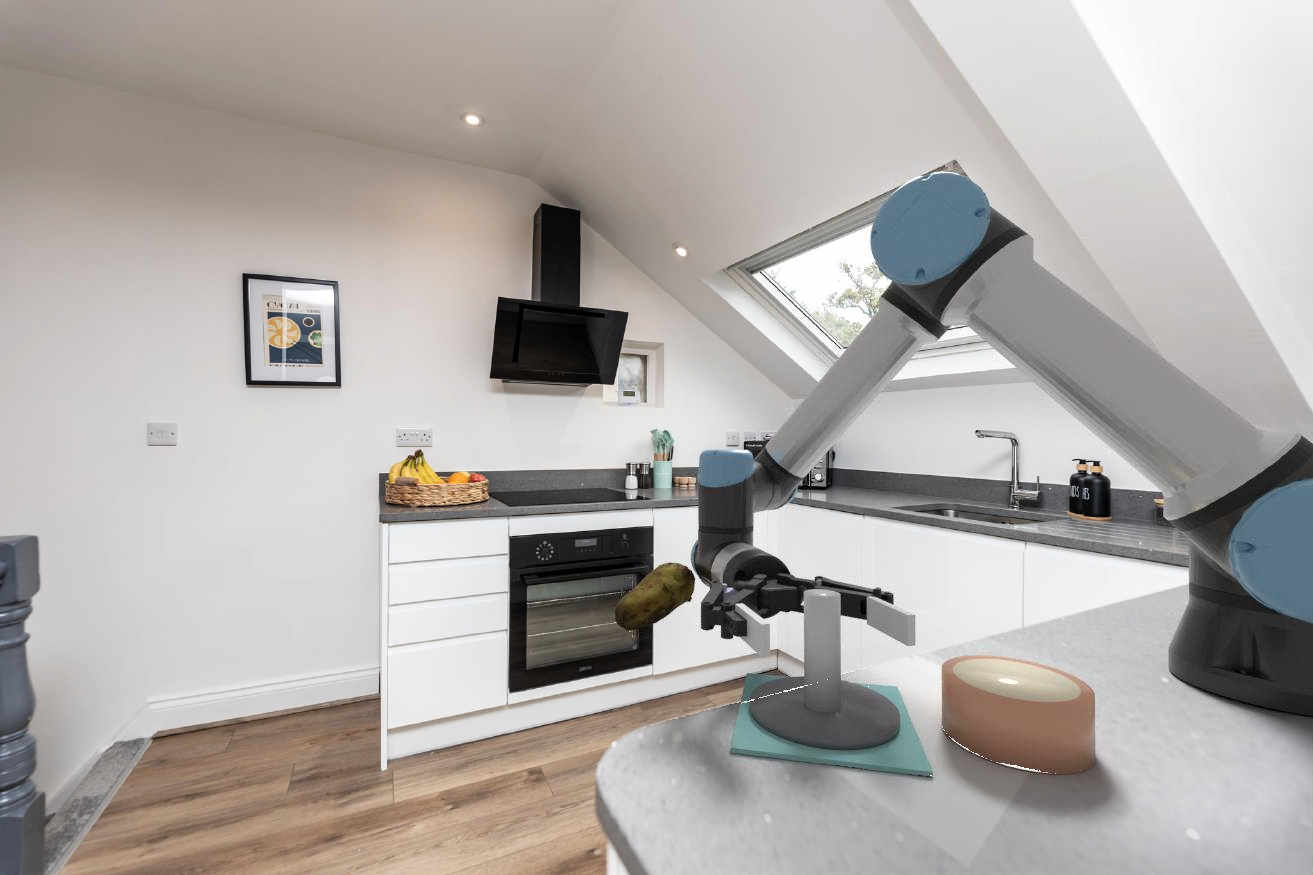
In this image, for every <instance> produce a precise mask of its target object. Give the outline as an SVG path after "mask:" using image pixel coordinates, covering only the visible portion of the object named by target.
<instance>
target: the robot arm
mask: <svg viewBox="0 0 1313 875" xmlns="http://www.w3.org/2000/svg"><path fill="white" fill-rule="evenodd" d="M869 240H870V241H869V242H870V244H869V245H870V250H871V254H872V258H873V259H874V262H875V264H876V267H877V268H878V270H879V272H880V273H881V274H882V275H883V276H885V277H886V278H887V279H888V280H890V281H891V282H890V283H889V285H888V287H887V288H886V289H885V290H884V292H882V294H881V295H880V297H878V305H879V306H878V311H877V312H876V313H875V314H874V315H873V317H872V318H871V319H870V320H869V321H868V323H866V325H865V326H864V327H863V329H862V330H861V331H860V332H859V333H858V335H856V337H855V338H854V339H853V341H852V342H851V343H850V344H849V345H848V346H847V347H846V349H845V350H844V351H843V352H842V354H840V356H839V357H838V359H837V360H836V361H835V362H834V363H833V364H832V365H831V367H830V368H829V369H828V370H827V372H826V373H825V374H824V375H823V376H822V378H821V379H820V380H819V381H818V382H817V383H816V385H815V386H814V387H813V389H812V390H810V392H809V393H808V395H807V396H806V397H805V398H804V399H803V400H802V401H801V403H799V405H798V406H797V407H796V408H795V410H794V411H793V412H792V414H790V416H789V417H788V418H787V419H786V420H785V422H784V423H783V424H782V425H781V426H780V427H779V429H778V430H777V432H775V434H774V435H773V436H772V437H771V438H770V439H769V441H768V442H767V443H766V444H765V446H764V447H763V448H762V450H761V451H760V452H759V453H758V454H757V455H756V457H755V458H754V455H753V453H752V451H750V450H748V449H704V450H703V451H702V452H700V454H699V458H698V462H699V463H698V473H697V478H696V480H697V508H698V509H697V514H698V515H697V517H698V519H697V521H698V522H697V523H698V529H697V540H696V541H695V543H693V546H692V548H691V550H690V551H691V552H690V562H691V563H690V564H691V566H692V569H693V571H694V573H695V574H696V575H697V577H698V579H699V580H700V581H701V582H702V584H704V585H706V587H708V588H709V590H708V592H707V593H706V594H705V595H704V598H702V600H701V601H700V629H701V630H702V631H707V632H708V631H712V630H714V628H715V626H720V638H721V639H724V640H732V639H734V637H736V638H737V637H739V638H740V639H741V640H742V641H743V642H745V644H746V645H748V646H749V648H751V649H752V650H753V651H754V652H755V653H757V655H758V656H759V657H761V658H766V657H767V658H769V657H771V623H769V622H768V621H767V620H765V619H769V618H773V617H775V616H776V615H778V614H780V613H781V612H783V613H790V612H793V613H794V612H795V613H799V614H804V604H803V603H804V591H806V590H812V589H823V590H831V591H835V592H838V593H840V597H841V616H842V617H846V618H847V617H848V618H854V619H857V620H865V621H866V625H868V626H870V627H871V628H873V629H875V630H876V631H879V632H880V633H883V634H884V635H886V636H888V637H890V638H892V639H894V640H896V641H897V642H899V643H901V644H903V645H904V646H907V647H913V646H916V614H914V613H913V612H910V611H908V610H906V609H903V608H902V607H899V606H896V605H895V604H894V601H895V600H894V599H895V598H894V593H893V592H890V591H886V590H885V591H884V590H882V588H881V587H875V588H870V587H865V586H861V585H856V584H853V583H852V584H851V583H846V582H843V581H837V580H833V579H832V578H831V579H830V578H827V577H825V576H822V575H817V576H815V577H814V579H808V578H801V577H796V576H795V575H794V574H792V573H791V571H790V570H789V568H788V567H787V565H786V564H785V563H784V562H783V561H782V560H781V559H780V558H778V557H777V556H775V555H773V554H770V553H768V552H766V551H764V550H763V549H761V548H759V547H756V546H754V521H755V520H754V518H755V517H754V516H755V515H754V514H755V513H761V512H765V511H775V510H779V509H781V508H782V507H784V506H786V505H788V504H790V503H791V502H792V501H793V500H794V499H795V497H796V495H797V493H798V490H799V485H800V483H801V482H802V481H803V479H804V478H805V477H807V475H808V474H809V473H810V472H811V471H812V469H813V468H814V467H815V466H816V465H817V464H818V463H819V462H820V461H821V459H823V457H824V456H825V455H826V454H827V453H828V451H829V450H831V448H832V447H833V446H834V445H835V444H836V443H837V442H838V440H840V438H842V436H843V435H844V434H845V432H846V431H848V429H850V427H851V426H852V425H854V423H855V421H857V420H858V419H859V417H860V416H861V415H862V414H863V412H864V411H866V409H867V408H869V406H870V405H871V404H872V402H874V401H875V399H876V398H877V397H878V396H879V395H880V394H881V393H882V392H883V390H884V389H885V388H887V386H888V385H889V384H890V382H892V380H893V379H894V378H895V377H896V376H897V375H898V374H899V373H900V372H901V370H902V369H903V368H904V367H905V366H906V365H907V363H909V362H910V361H911V359H913V357H914V356H915V355H916V354H917V353H918V352H919V351H920V349H921V348H922V347H923V346H924V345H925V344H927V343H928V344H929V343H934V342H935V343H937V342H938V341H939V340H940V339H941V338H942V337H943V336H944V335H945V334H946V333H947V331H948V330H949V329H950V328H951V327H952V326H953V327H954V326H966V327H968V328H969V329H970V330H971V331H973V332H974V333H975V334H976V335H977V336H978V337H980V338H981V339H982V340H984V341H985V342H986V343H987V344H988V345H989V346H990V347H992V348H993V349H994V350H995V351H996V352H997V353H999V355H1001V356H1002V357H1004V359H1006V360H1007V361H1008V362H1009V363H1010V364H1011V365H1013V366H1014V367H1015V368H1016V369H1017V370H1018V371H1020V372H1021V373H1022V374H1023V375H1024V376H1026V377H1027V378H1028V379H1029V380H1030V381H1031V382H1033V383H1034V384H1035V385H1036V386H1038V387H1039V388H1040V389H1041V390H1042V391H1043V392H1045V394H1047V395H1048V396H1049V397H1050V398H1052V399H1053V400H1054V401H1055V402H1056V403H1057V404H1059V406H1061V407H1062V408H1064V410H1065V411H1067V412H1068V413H1069V414H1070V415H1071V416H1072V417H1074V418H1075V419H1076V420H1077V421H1078V422H1080V424H1082V425H1083V426H1085V428H1087V429H1088V430H1089V431H1090V432H1091V433H1093V434H1094V435H1095V437H1097V438H1098V439H1100V440H1101V441H1102V442H1103V443H1104V444H1105V445H1106V446H1108V447H1109V448H1110V449H1111V450H1112V451H1114V453H1116V454H1117V455H1118V456H1119V457H1120V458H1122V459H1123V461H1125V462H1126V463H1128V464H1129V465H1130V466H1131V467H1132V468H1133V469H1134V470H1136V471H1137V472H1138V473H1140V475H1141V476H1143V477H1145V479H1146V480H1148V481H1149V482H1150V483H1151V484H1152V485H1154V487H1155V488H1157V489H1158V490H1159V491H1161V493H1162V496H1163V512H1162V513H1163V518H1164V519H1166V520H1167V521H1168V522H1170V524H1171V525H1172V526H1173V527H1175V528H1176V529H1177V530H1178V531H1179V532H1180V533H1182V534H1183V535H1184V537H1186V538H1187V540H1188V601H1187V604H1186V606H1185V609H1184V611H1183V614H1182V616H1181V618H1180V621H1179V623H1178V625H1177V627H1176V630H1175V632H1174V634H1173V636H1172V639H1171V641H1170V643H1169V646H1168V648H1167V649H1168V660H1167V661H1168V664H1167V665H1168V667H1167V668H1168V670H1169V671H1170V672H1171V673H1172V674H1173V675H1174V676H1176V677H1177V678H1179V679H1180V680H1182V681H1184V682H1185V683H1189V684H1190V685H1193V686H1195V687H1197V688H1200V689H1202V690H1205V691H1208V692H1210V693H1213V694H1216V695H1218V696H1222V697H1225V698H1228V699H1232V700H1235V701H1239V702H1242V703H1246V704H1250V705H1255V706H1258V707H1262V708H1268V709H1273V710H1277V711H1283V712H1288V713H1292V714H1299V715H1305V716H1312V717H1313V442H1311V441H1310V440H1309V439H1307V438H1306V437H1305V436H1303V435H1302V434H1300V433H1299V432H1298V431H1295V430H1273V429H1271V430H1269V429H1262V428H1257V427H1256V426H1255V425H1253V423H1250V421H1248V420H1247V419H1245V418H1244V417H1243V416H1242V415H1240V414H1239V413H1237V412H1236V411H1234V410H1233V409H1232V408H1230V407H1229V406H1228V405H1227V404H1226V403H1224V402H1222V401H1221V400H1220V399H1218V398H1217V397H1216V396H1215V395H1214V394H1212V393H1211V392H1209V391H1208V390H1207V389H1206V388H1204V386H1201V385H1200V384H1199V383H1197V382H1196V381H1195V380H1194V379H1192V378H1191V377H1189V376H1188V375H1187V374H1185V373H1184V372H1183V371H1181V370H1180V369H1179V368H1177V367H1176V366H1175V365H1174V364H1172V363H1171V362H1169V361H1168V360H1167V359H1166V358H1164V356H1162V355H1160V354H1159V353H1158V352H1156V351H1155V350H1153V348H1151V347H1150V346H1149V345H1147V344H1146V343H1145V342H1143V341H1142V340H1140V339H1139V338H1138V337H1136V336H1135V335H1133V333H1131V332H1130V331H1128V330H1127V329H1126V328H1124V327H1123V326H1122V325H1120V324H1119V323H1118V322H1116V321H1115V320H1114V319H1113V318H1111V317H1110V316H1109V315H1107V314H1106V313H1104V312H1103V311H1102V310H1101V309H1099V308H1098V307H1097V306H1095V305H1094V304H1093V303H1092V302H1090V301H1089V300H1087V299H1086V298H1085V297H1083V296H1082V295H1080V294H1079V293H1078V292H1077V291H1075V290H1074V289H1073V288H1072V287H1070V286H1069V285H1068V284H1066V283H1065V282H1063V281H1062V280H1060V279H1059V278H1058V277H1056V276H1055V275H1054V274H1053V273H1052V272H1051V271H1049V270H1048V269H1046V268H1045V267H1043V266H1042V265H1041V264H1040V263H1038V262H1037V261H1036V260H1035V258H1034V255H1035V254H1034V251H1035V250H1034V247H1035V246H1034V244H1035V243H1034V240H1035V239H1034V237H1033V236H1031V235H1030V234H1028V232H1026V231H1025V230H1023V229H1022V228H1020V226H1018V225H1017V224H1015V223H1014V222H1012V221H1011V220H1009V219H1008V218H1007V217H1006V216H1004V215H1003V214H1001V212H999V211H998V210H997V209H995V208H994V207H992V206H991V204H990V202H989V199H988V196H987V194H986V192H984V190H983V189H982V187H981V186H979V184H977V183H975V182H974V181H973V180H972V179H970V178H969V177H966V176H964V175H962V174H959V173H955V172H951V171H950V172H949V171H938V172H937V171H935V172H933V173H930V174H924V175H921V176H918V177H915V178H913V179H910V180H909V181H908V182H905V183H904V184H903V185H901V186H900V187H898V188H897V189H896V190H895V191H893V193H891V194H890V196H888V197H887V199H885V201H884V203H883V204H882V205H881V206H880V208H879V210H878V212H877V214H876V215H875V218H874V220H873V223H872V226H871V231H870V238H869ZM802 604H803V605H802Z"/></svg>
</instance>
